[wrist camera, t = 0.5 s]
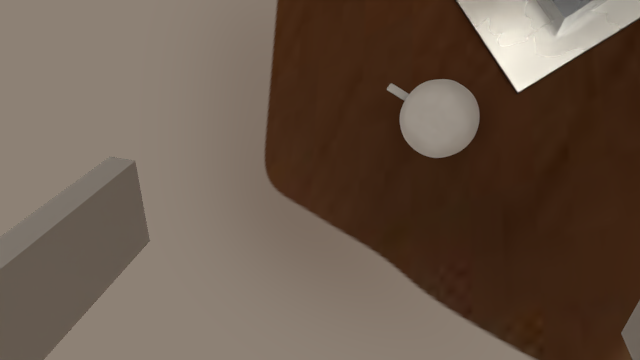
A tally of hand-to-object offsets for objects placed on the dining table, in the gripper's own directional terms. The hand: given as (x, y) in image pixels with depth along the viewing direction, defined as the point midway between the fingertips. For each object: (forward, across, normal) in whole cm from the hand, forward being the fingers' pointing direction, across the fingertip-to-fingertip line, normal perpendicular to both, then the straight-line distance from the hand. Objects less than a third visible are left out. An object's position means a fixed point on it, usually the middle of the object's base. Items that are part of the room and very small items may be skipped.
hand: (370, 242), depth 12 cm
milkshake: (+24, +3, -6) cm, 25 cm away
